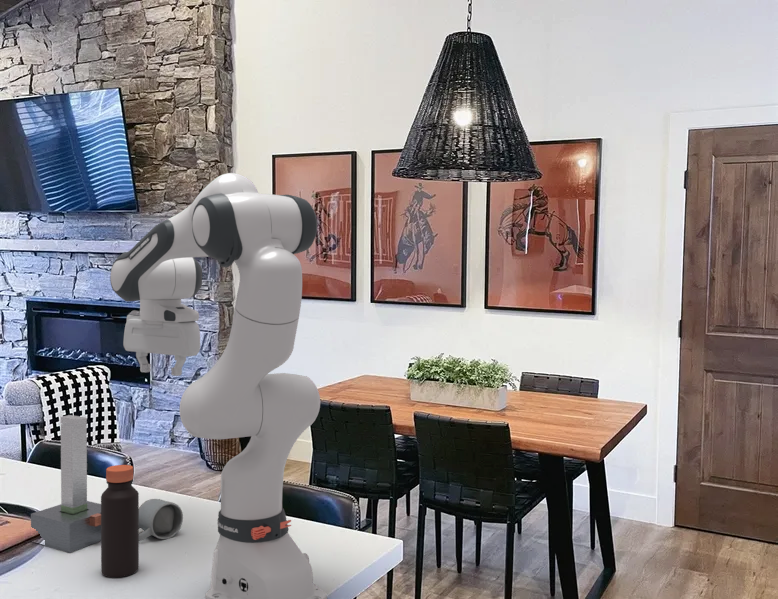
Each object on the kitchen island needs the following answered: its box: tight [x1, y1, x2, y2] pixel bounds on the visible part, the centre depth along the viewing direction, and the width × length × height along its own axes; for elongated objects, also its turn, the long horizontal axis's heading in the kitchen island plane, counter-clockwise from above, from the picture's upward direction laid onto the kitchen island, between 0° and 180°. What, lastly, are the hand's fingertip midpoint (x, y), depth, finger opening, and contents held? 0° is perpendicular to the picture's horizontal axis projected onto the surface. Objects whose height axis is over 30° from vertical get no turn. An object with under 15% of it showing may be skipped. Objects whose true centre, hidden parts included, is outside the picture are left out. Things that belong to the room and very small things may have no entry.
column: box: [60, 414, 88, 515], centre depth 164 cm, size 5×4×21 cm
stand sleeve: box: [30, 500, 101, 554], centre depth 164 cm, size 14×12×6 cm
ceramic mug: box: [139, 498, 184, 542], centre depth 167 cm, size 11×8×8 cm
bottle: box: [100, 464, 140, 579], centre depth 148 cm, size 7×7×20 cm
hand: (160, 373), depth 173 cm, fingers open, 8 cm apart
